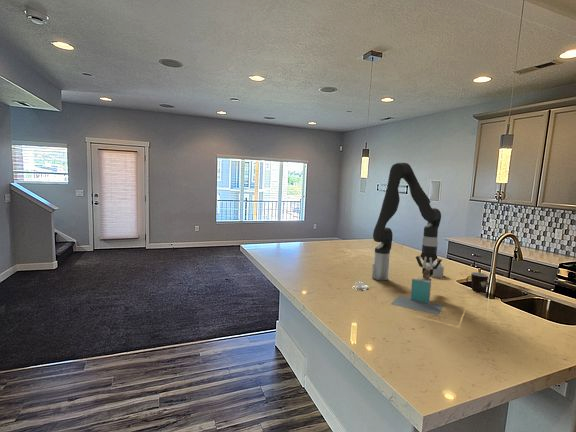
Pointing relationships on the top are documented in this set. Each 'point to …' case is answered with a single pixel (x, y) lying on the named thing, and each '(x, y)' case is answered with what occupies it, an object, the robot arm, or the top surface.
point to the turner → (426, 274)
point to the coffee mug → (478, 281)
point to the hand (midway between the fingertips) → (427, 275)
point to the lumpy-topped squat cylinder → (437, 270)
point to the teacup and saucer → (360, 285)
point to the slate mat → (418, 305)
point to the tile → (420, 290)
